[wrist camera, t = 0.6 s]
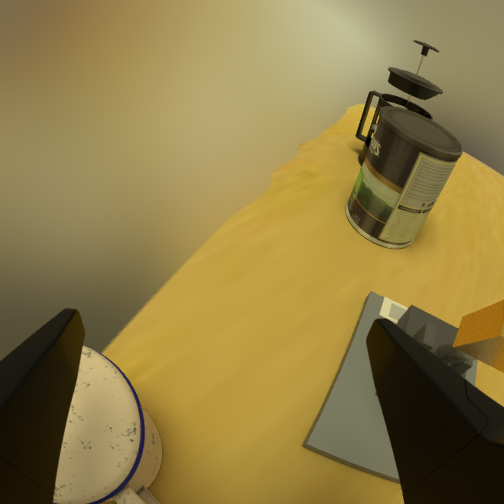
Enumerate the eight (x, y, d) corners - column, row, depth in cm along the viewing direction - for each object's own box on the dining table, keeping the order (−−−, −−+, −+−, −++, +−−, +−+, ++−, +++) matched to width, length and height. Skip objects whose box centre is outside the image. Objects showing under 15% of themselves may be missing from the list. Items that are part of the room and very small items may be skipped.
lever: (457, 376, 20) (555, 367, 9) (411, 354, 22) (500, 335, 11) (465, 354, 21) (562, 332, 10) (420, 331, 22) (509, 297, 11)
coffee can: (336, 227, 37) (375, 120, 27) (353, 187, 44) (384, 98, 33) (412, 262, 35) (469, 165, 24) (417, 216, 41) (458, 133, 31)
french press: (417, 175, 50) (462, 60, 33) (402, 193, 45) (456, 58, 28) (362, 144, 55) (396, 31, 38) (340, 157, 49) (377, 25, 32)
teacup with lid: (33, 428, 17) (-60, 370, 9) (115, 369, 22) (63, 281, 14) (132, 553, 12) (68, 596, 4) (222, 483, 18) (235, 482, 9)
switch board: (442, 494, 17) (490, 484, 12) (302, 446, 20) (329, 431, 16) (471, 351, 27) (506, 320, 22) (366, 298, 30) (391, 258, 26)
